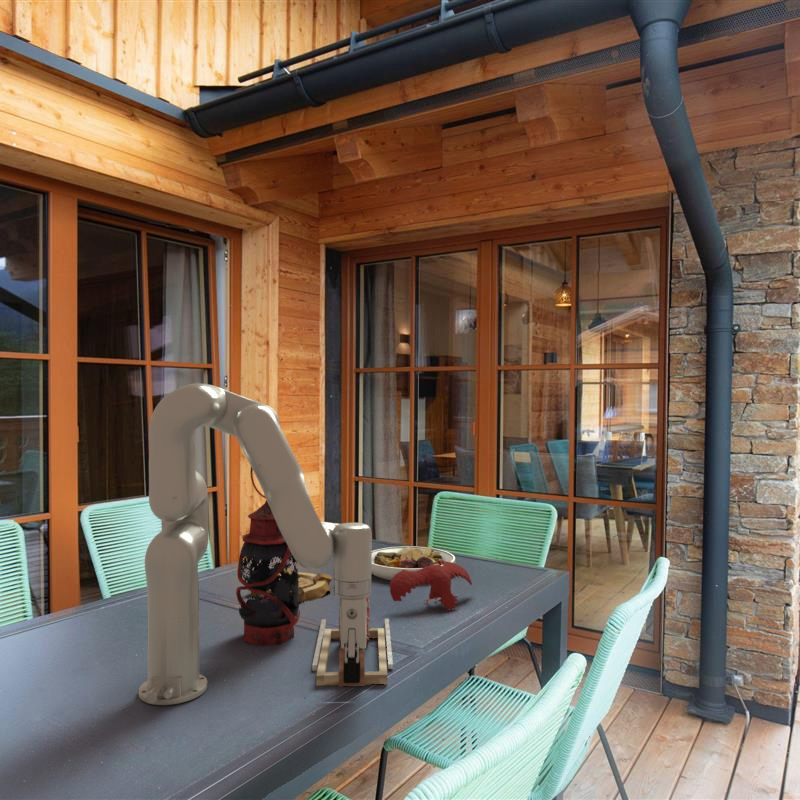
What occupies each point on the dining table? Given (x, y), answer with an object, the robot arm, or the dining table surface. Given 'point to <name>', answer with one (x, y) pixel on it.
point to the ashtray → (309, 585)
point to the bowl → (406, 560)
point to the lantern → (267, 581)
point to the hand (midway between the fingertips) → (352, 677)
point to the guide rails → (320, 640)
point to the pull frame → (338, 677)
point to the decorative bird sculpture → (429, 574)
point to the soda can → (367, 622)
